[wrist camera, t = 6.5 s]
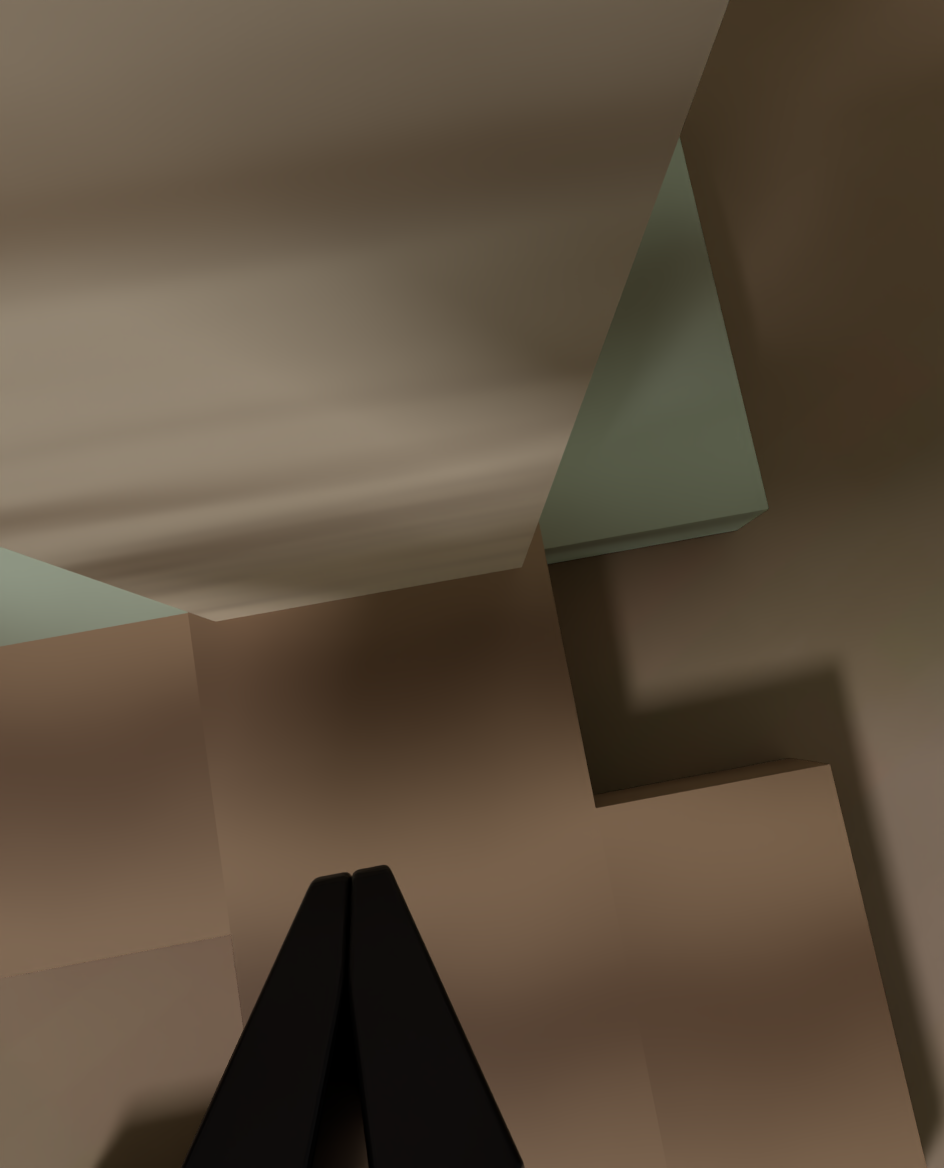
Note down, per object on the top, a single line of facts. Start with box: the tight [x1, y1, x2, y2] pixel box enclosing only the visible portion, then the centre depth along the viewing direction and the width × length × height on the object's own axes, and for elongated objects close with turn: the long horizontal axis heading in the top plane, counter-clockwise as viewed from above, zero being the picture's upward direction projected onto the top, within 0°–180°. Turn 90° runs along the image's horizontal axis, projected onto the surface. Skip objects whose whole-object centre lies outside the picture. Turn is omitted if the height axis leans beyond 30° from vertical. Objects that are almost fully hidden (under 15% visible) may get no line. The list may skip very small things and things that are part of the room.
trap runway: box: [0, 136, 927, 1168], centre depth 16 cm, size 24×16×5 cm, turn 10°
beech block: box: [0, 0, 729, 622], centre depth 9 cm, size 8×6×15 cm
